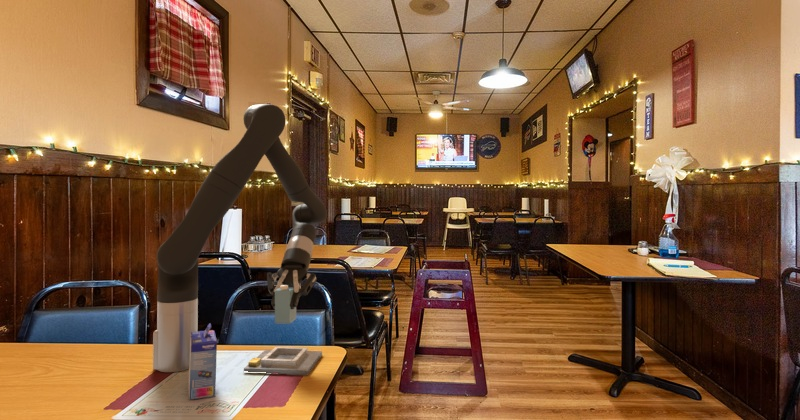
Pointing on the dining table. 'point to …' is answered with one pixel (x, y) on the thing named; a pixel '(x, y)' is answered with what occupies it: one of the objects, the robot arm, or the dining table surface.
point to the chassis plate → (285, 361)
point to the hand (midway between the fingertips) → (283, 307)
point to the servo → (284, 305)
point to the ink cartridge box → (202, 364)
